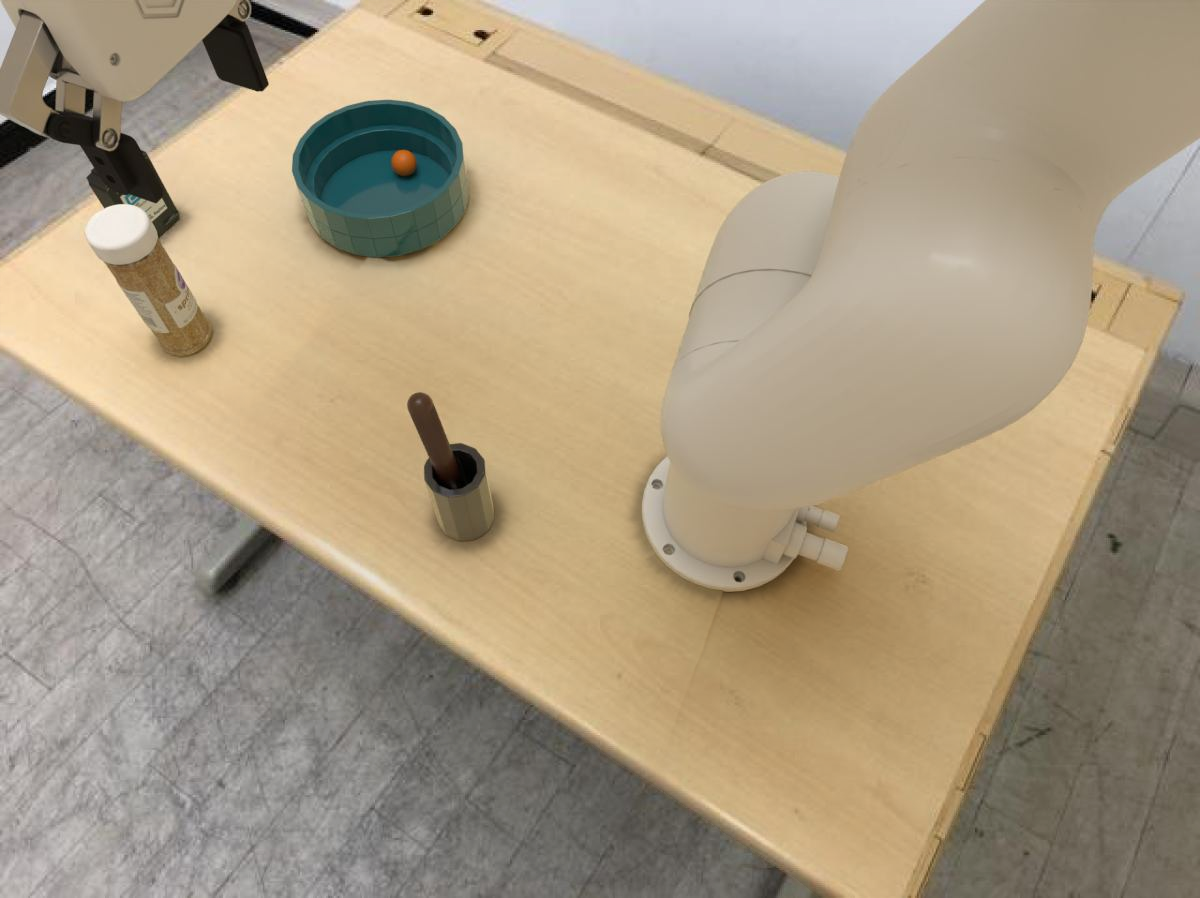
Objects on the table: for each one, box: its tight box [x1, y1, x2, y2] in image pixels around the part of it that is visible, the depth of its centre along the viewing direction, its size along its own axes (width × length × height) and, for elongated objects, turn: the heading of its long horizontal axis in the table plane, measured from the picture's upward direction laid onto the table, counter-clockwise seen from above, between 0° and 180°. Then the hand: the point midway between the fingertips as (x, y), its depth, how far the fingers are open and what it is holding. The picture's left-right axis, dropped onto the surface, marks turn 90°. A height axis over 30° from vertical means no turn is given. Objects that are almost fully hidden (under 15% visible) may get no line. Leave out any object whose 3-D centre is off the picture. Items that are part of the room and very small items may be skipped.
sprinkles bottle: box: [84, 204, 213, 357], centre depth 70 cm, size 5×5×13 cm
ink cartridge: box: [85, 149, 181, 239], centre depth 78 cm, size 5×2×8 cm, turn 150°
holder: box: [423, 442, 495, 542], centre depth 64 cm, size 4×4×8 cm
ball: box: [391, 150, 417, 176], centre depth 84 cm, size 2×2×2 cm
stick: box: [406, 391, 466, 490], centre depth 61 cm, size 2×2×16 cm
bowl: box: [291, 99, 470, 258], centre depth 82 cm, size 15×15×6 cm
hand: (194, 135), depth 49 cm, fingers open, 9 cm apart
